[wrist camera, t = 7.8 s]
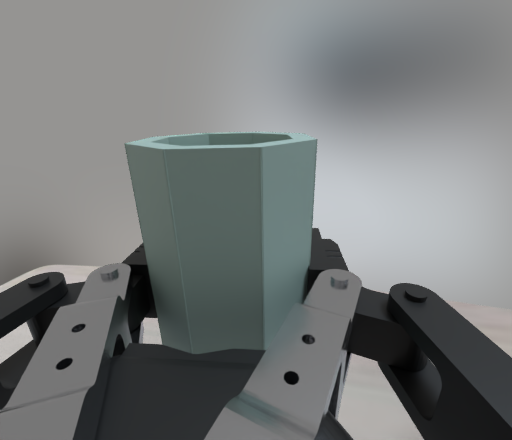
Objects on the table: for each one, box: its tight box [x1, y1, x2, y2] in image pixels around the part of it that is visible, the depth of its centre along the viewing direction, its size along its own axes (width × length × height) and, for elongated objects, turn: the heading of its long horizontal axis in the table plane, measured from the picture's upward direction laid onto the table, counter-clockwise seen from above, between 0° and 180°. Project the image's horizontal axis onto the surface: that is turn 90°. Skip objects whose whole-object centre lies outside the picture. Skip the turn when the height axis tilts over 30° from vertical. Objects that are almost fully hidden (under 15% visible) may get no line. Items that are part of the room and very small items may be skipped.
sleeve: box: [125, 132, 317, 354], centre depth 10 cm, size 6×6×11 cm
